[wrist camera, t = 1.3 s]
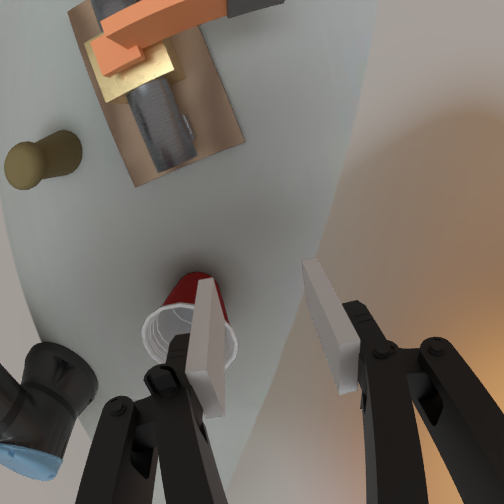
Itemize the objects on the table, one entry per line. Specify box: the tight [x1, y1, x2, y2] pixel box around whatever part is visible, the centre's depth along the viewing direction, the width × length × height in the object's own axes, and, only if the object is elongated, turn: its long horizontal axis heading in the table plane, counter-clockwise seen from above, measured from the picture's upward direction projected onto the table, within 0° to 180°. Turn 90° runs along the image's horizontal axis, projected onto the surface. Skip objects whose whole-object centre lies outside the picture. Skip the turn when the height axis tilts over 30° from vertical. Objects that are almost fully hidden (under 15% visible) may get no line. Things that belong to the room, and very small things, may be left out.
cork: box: [4, 130, 82, 190], centre depth 30 cm, size 6×6×11 cm
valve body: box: [84, 0, 198, 173], centre depth 27 cm, size 7×24×8 cm, turn 20°
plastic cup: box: [141, 272, 238, 369], centre depth 39 cm, size 11×11×12 cm
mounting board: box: [68, 0, 245, 188], centre depth 32 cm, size 14×26×2 cm, turn 20°
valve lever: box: [90, 0, 285, 78], centre depth 19 cm, size 16×4×8 cm, turn 110°
